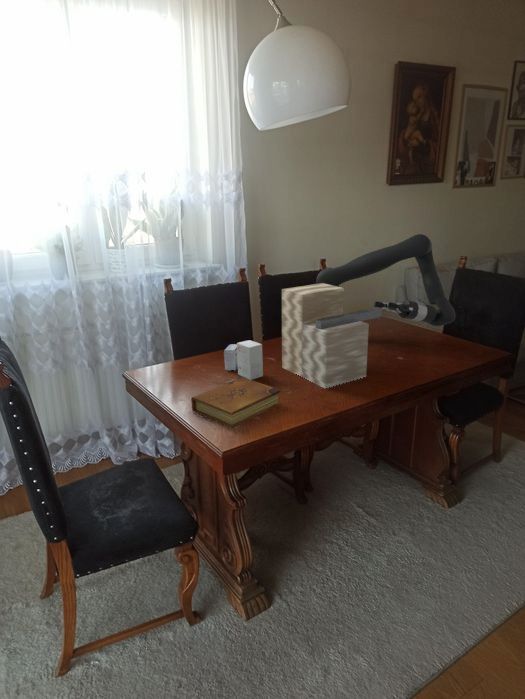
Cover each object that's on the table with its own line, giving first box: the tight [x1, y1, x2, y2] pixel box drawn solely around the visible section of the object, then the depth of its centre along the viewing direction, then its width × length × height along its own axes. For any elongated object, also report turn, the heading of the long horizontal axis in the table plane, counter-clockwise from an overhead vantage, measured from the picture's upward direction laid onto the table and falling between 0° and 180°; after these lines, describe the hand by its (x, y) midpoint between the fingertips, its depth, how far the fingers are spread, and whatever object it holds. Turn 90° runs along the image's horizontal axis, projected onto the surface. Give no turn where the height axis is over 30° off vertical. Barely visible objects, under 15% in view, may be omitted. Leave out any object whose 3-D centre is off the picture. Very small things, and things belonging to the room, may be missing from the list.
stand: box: [281, 283, 370, 389], centre depth 192 cm, size 27×20×32 cm
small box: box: [236, 339, 264, 381], centre depth 193 cm, size 8×6×13 cm
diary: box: [190, 376, 282, 428], centre depth 167 cm, size 23×19×6 cm
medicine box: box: [223, 343, 238, 372], centre depth 203 cm, size 8×4×9 cm, turn 168°
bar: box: [316, 307, 383, 329], centre depth 187 cm, size 3×30×3 cm, turn 123°
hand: (381, 304), depth 199 cm, fingers open, 8 cm apart
